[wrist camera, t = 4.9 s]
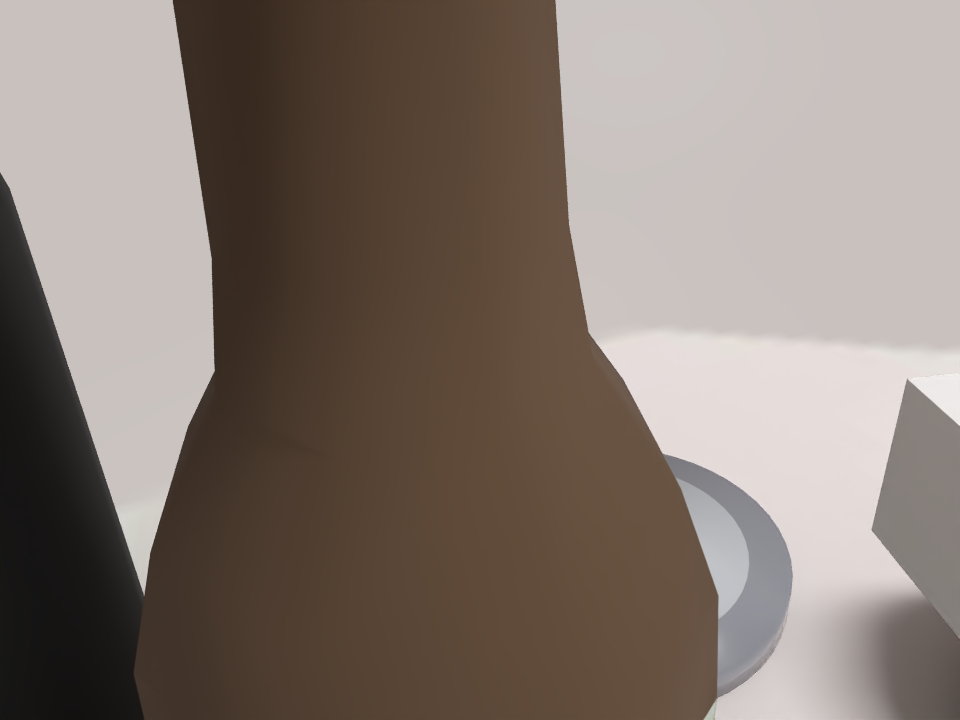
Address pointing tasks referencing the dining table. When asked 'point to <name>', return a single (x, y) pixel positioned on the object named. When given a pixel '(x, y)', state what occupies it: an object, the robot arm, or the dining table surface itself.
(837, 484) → the dining table surface
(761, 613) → the dish
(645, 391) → the dining table surface
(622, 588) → the beer bottle
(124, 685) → the coffee jar
